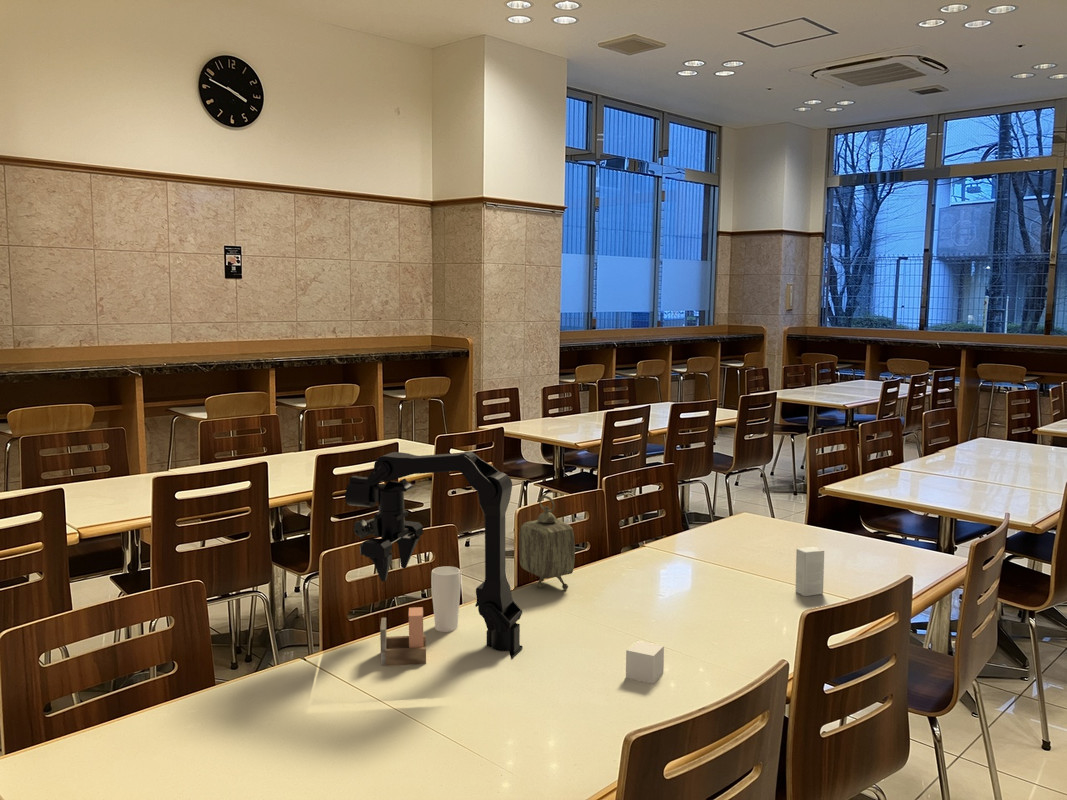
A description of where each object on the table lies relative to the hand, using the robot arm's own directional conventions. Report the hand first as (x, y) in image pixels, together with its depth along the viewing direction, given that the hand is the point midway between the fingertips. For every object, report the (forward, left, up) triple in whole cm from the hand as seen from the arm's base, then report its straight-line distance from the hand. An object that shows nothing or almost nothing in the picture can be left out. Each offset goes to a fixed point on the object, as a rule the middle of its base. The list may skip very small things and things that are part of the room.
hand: (393, 574), depth 201 cm
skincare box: (-86, -69, -15) cm, 111 cm away
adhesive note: (-59, -2, -15) cm, 61 cm away
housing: (-10, +12, -15) cm, 22 cm away
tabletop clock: (-19, -47, -15) cm, 53 cm away
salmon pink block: (-12, +11, -14) cm, 21 cm away
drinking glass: (-10, -7, -15) cm, 19 cm away
